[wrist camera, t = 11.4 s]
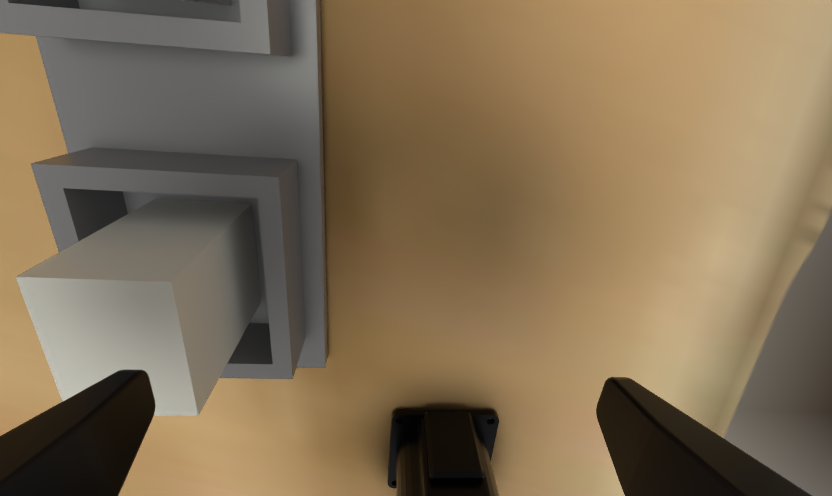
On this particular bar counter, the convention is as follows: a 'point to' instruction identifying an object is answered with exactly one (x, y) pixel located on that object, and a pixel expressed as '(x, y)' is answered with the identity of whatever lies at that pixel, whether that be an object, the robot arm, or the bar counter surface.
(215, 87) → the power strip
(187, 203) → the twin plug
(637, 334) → the bar counter surface
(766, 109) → the bar counter surface
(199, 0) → the plug
